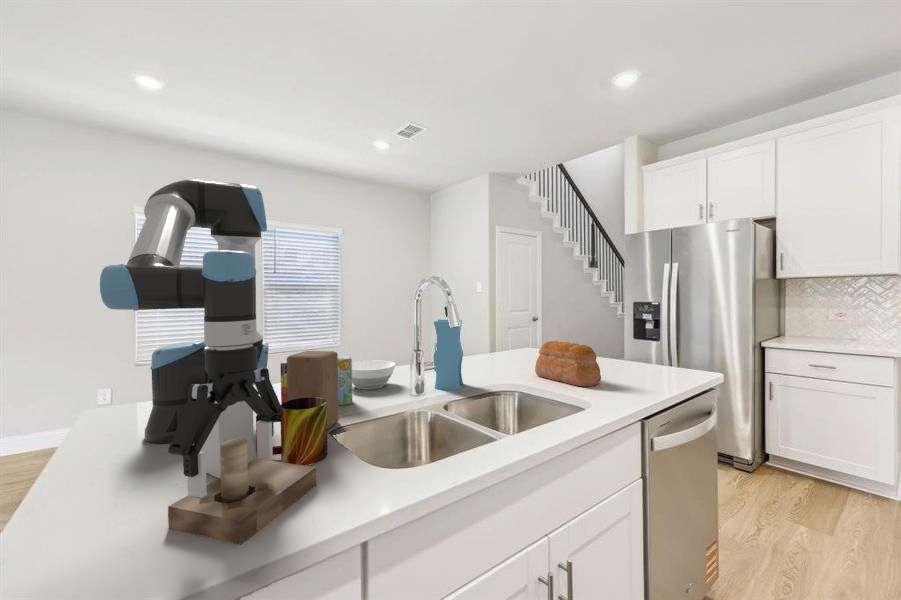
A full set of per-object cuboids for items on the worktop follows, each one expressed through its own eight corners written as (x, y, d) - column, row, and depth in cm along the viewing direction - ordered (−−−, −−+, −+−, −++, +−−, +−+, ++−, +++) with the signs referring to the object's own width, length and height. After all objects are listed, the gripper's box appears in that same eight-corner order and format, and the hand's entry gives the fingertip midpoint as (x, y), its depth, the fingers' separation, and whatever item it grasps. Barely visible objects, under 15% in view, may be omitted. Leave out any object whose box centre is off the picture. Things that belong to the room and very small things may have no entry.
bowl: (391, 393, 141) (391, 369, 141) (336, 393, 141) (336, 370, 141) (399, 380, 160) (398, 360, 160) (351, 380, 161) (351, 360, 160)
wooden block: (321, 435, 101) (320, 357, 100) (286, 432, 103) (284, 355, 102) (340, 422, 111) (339, 350, 110) (307, 419, 113) (306, 349, 112)
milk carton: (220, 480, 77) (217, 383, 77) (201, 471, 81) (199, 379, 81) (254, 466, 83) (252, 376, 83) (235, 458, 87) (233, 372, 87)
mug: (255, 460, 86) (254, 406, 86) (318, 444, 95) (317, 394, 94) (267, 477, 79) (266, 417, 78) (334, 457, 87) (333, 404, 87)
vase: (438, 382, 156) (437, 319, 155) (463, 383, 154) (462, 319, 153) (433, 389, 146) (433, 321, 145) (460, 389, 144) (460, 321, 144)
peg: (215, 519, 64) (213, 446, 64) (235, 506, 68) (234, 437, 68) (235, 523, 63) (233, 449, 63) (254, 509, 67) (253, 439, 67)
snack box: (351, 400, 132) (350, 355, 132) (352, 405, 127) (351, 358, 126) (282, 406, 125) (281, 359, 125) (280, 412, 120) (279, 362, 120)
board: (168, 528, 62) (168, 506, 62) (256, 475, 79) (255, 458, 79) (240, 544, 58) (240, 521, 58) (316, 485, 75) (316, 467, 75)
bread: (583, 389, 145) (583, 348, 144) (531, 376, 167) (531, 340, 166) (605, 384, 152) (606, 344, 152) (553, 372, 174) (553, 337, 174)
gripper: (176, 361, 52) (180, 520, 52) (300, 337, 76) (302, 447, 76) (134, 358, 54) (139, 511, 54) (268, 336, 78) (270, 443, 78)
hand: (234, 474), depth 65 cm, fingers open, 13 cm apart
